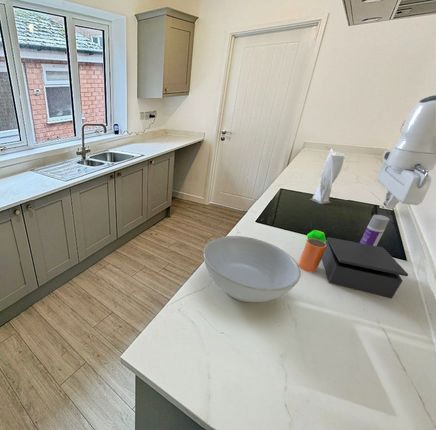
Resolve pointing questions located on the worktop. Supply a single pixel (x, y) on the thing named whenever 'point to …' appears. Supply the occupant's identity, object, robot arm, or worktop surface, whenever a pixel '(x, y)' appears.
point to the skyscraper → (328, 177)
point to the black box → (359, 276)
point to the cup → (312, 255)
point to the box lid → (365, 256)
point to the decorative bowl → (250, 268)
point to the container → (375, 230)
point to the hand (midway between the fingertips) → (388, 206)
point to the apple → (316, 235)
